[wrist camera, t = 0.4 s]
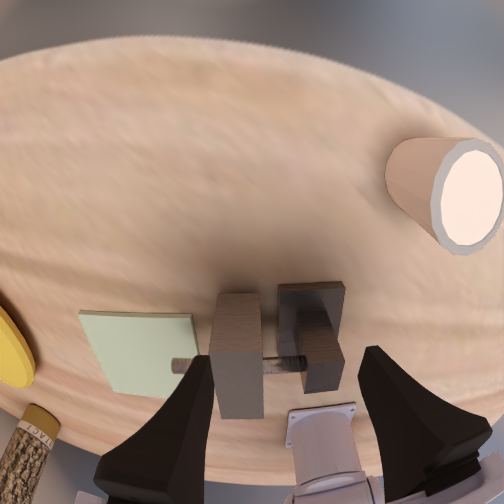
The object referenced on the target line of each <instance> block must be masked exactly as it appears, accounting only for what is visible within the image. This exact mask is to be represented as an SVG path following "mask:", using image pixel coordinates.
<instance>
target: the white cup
mask: <svg viewBox="0 0 504 504" xmlns="http://www.w3.org/2000/svg"><path fill="white" fill-rule="evenodd" d="M385 181H386V185H387V190H388V193H389V194H390V196H391V197H392V199H393V201H394V202H395V203H396V204H397V205H398V206H399V207H400V208H401V209H403V210H404V211H405V212H406V213H407V214H408V215H409V216H410V217H412V218H413V219H414V220H415V221H416V222H417V223H418V224H419V225H420V226H421V227H422V228H423V229H425V230H426V231H427V232H428V233H429V234H430V235H431V236H432V237H433V238H434V239H435V240H436V241H437V242H438V243H439V244H440V245H441V246H442V247H444V248H445V249H447V250H448V251H449V252H450V253H452V254H453V255H467V256H468V255H470V254H472V253H474V252H477V251H479V250H481V249H483V248H484V246H485V245H486V244H487V243H488V242H489V241H490V240H491V239H492V238H493V237H494V236H495V234H496V232H497V230H498V228H499V226H500V224H501V222H502V220H503V218H504V164H503V161H502V158H501V157H500V155H499V154H498V153H497V152H496V150H495V149H494V148H493V147H492V145H491V144H489V143H487V142H484V141H482V140H480V139H477V138H453V137H438V138H413V139H409V140H405V141H403V142H401V143H400V144H399V145H398V146H397V147H395V148H394V149H393V151H392V153H391V155H390V157H389V159H388V161H387V164H386V172H385Z"/></svg>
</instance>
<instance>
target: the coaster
mask: <svg viewBox="0 0 504 504" xmlns="http://www.w3.org/2000/svg"><path fill="white" fill-rule="evenodd" d="M78 317H79V319H80V322H81V324H82V327H83V329H84V331H85V334H86V336H87V338H88V341H89V343H90V345H91V347H92V350H93V352H94V354H95V356H96V358H97V360H98V362H99V364H100V366H101V368H102V370H103V372H104V374H105V376H106V378H107V380H108V382H109V384H110V386H111V388H112V389H113V391H114V392H117V393H124V394H132V395H140V396H149V397H160V398H169V397H170V395H171V394H172V393H173V391H174V390H175V389H176V387H177V385H178V384H179V382H180V381H181V379H182V378H183V376H184V375H185V374H173V373H172V370H171V361H172V358H194V357H195V356H196V355H200V354H199V350H198V345H197V340H196V335H195V330H194V324H193V319H192V314H154V313H119V312H97V311H80V312H79V313H78Z"/></svg>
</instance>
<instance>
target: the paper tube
mask: <svg viewBox="0 0 504 504" xmlns="http://www.w3.org/2000/svg"><path fill="white" fill-rule="evenodd" d="M59 430H60V425H59V423H58V421H57V420H56V419H55V418H54V417H53V416H52V415H51V414H50V413H48V412H47V411H45V410H44V409H42V408H40V407H38V406H36V405H29V406H28V407H27V409H26V411H25V412H24V414H23V416H22V418H21V420H20V422H19V423H18V426H17V427H16V429H15V431H14V433H13V435H12V437H11V439H10V441H9V443H8V445H7V447H6V450H5V452H4V454H3V456H2V458H1V461H0V504H31V503H32V500H33V497H34V494H35V490H36V488H37V485H38V482H39V480H40V477H41V474H42V471H43V469H44V466H45V464H46V461H47V459H48V456H49V454H50V451H51V449H52V446H53V444H54V441H55V439H56V437H57V435H58V432H59Z"/></svg>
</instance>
